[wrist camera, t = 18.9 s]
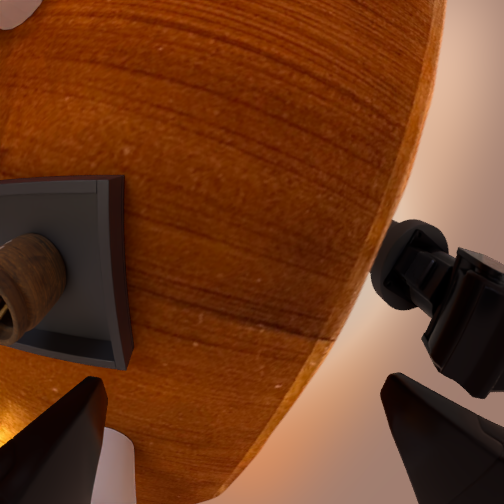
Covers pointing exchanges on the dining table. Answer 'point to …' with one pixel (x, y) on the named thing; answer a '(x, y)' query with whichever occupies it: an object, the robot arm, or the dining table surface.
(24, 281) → the utensil holder
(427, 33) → the dining table surface
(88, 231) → the baking tray
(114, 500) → the foam cup
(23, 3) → the shot glass
